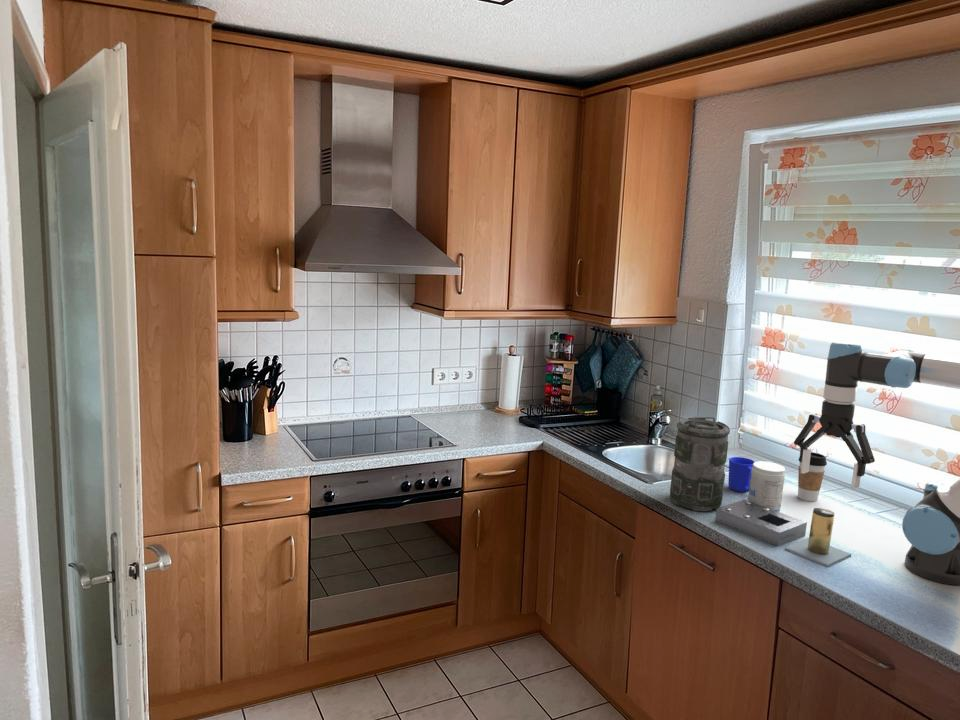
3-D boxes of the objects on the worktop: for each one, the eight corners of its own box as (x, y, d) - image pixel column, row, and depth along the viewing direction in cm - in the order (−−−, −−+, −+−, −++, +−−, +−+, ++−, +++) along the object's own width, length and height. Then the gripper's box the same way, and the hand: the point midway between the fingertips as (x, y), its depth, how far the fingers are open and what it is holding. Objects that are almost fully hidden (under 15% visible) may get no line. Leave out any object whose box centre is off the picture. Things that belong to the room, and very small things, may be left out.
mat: (851, 556, 192) (851, 554, 191) (827, 566, 184) (828, 564, 184) (808, 539, 201) (808, 537, 201) (784, 549, 194) (784, 547, 194)
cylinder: (832, 552, 192) (838, 513, 190) (822, 556, 189) (828, 516, 187) (814, 544, 196) (819, 506, 194) (803, 548, 193) (809, 509, 191)
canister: (684, 513, 216) (694, 424, 211) (660, 494, 231) (668, 410, 226) (731, 511, 219) (741, 423, 215) (704, 492, 235) (713, 409, 230)
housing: (805, 535, 204) (807, 520, 203) (777, 546, 195) (779, 531, 195) (743, 511, 219) (744, 498, 219) (715, 521, 211) (716, 507, 210)
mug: (740, 498, 231) (744, 468, 229) (721, 485, 243) (724, 457, 241) (763, 497, 233) (767, 468, 231) (743, 484, 244) (746, 456, 243)
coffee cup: (793, 499, 232) (798, 455, 229) (794, 491, 240) (799, 448, 237) (821, 504, 229) (827, 459, 226) (821, 496, 236) (827, 453, 233)
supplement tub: (741, 505, 225) (746, 460, 222) (770, 505, 226) (775, 460, 223) (755, 517, 215) (761, 470, 213) (785, 517, 216) (791, 471, 214)
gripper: (896, 409, 178) (885, 491, 181) (801, 390, 197) (792, 464, 201) (882, 413, 173) (870, 496, 177) (786, 393, 193) (777, 468, 196)
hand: (829, 479), depth 189 cm, fingers open, 13 cm apart
